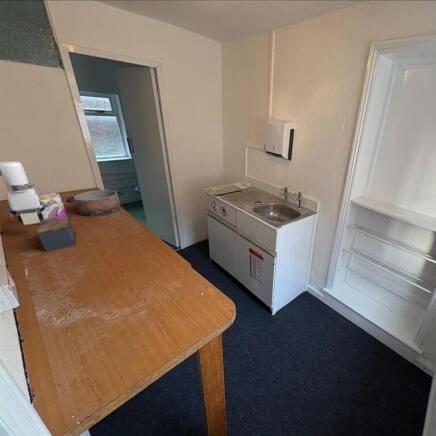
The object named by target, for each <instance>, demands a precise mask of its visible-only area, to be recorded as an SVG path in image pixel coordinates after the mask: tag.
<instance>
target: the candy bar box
mask: <svg viewBox="0 0 436 436" xmlns="http://www.w3.org/2000/svg"><path fill="white" fill-rule="evenodd" d="M38 197H39V199H40V201H42V202H44V203H46V204H48V206H47V207H46V208H45V209H44V210H43V211H42V215H43V218H42V220H48V219H55V218H61V217H67V216H68V214H67V211H66V208H65V206H64V202H63V200H62V196H61V194H60V193H58V192H51V193H46V194H40V195H38ZM42 207H43V205H40V209H41V208H42ZM40 223H41V221H40Z"/></svg>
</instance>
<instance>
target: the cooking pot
mask: <svg viewBox="0 0 436 436" xmlns="http://www.w3.org/2000/svg"><path fill="white" fill-rule="evenodd" d="M124 195H125V192H124V191H123V190H119V191H116V190H112V189H100V190H99V189H98V190H91V191H86V192H81V193H78V194H77V195H74V196H71V197H70V196H69V197H67V198H66V202H67V203H75V205H76V208H77V210H78V213H79V214H80V215H81V216H84V217H97V216H103V215H108V214H112V213H114V212H117V211H119V210H120V208H121V202H120V199H119V197H121V196H124ZM119 207H120V208H119Z"/></svg>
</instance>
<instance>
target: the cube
mask: <svg viewBox="0 0 436 436" xmlns="http://www.w3.org/2000/svg"><path fill="white" fill-rule="evenodd" d="M37 214H38V213H37V211H36V210H35V209H29V210H21V214H20V216H21V219H22V221H23V223H22V224H23V225H24V226H26V225H35V224H41V222H40V220H39V217H38V215H37Z"/></svg>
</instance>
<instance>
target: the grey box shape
mask: <svg viewBox="0 0 436 436" xmlns="http://www.w3.org/2000/svg"><path fill="white" fill-rule="evenodd" d="M36 232H37V233H36V234H37V235H38V238H39V240H40V242H41V244H42V247H43V249H44V252H48V251H52V250H57V249H61V248H67V247H71V246H74V243H75V241H74V240H75V231H74V228H73V226H72V223H71V221H70V217H69V216H68V215H67V217H61V218H55V219H48V220H42V221H41V222H40V223H39V226H38V229H37V231H36Z"/></svg>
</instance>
